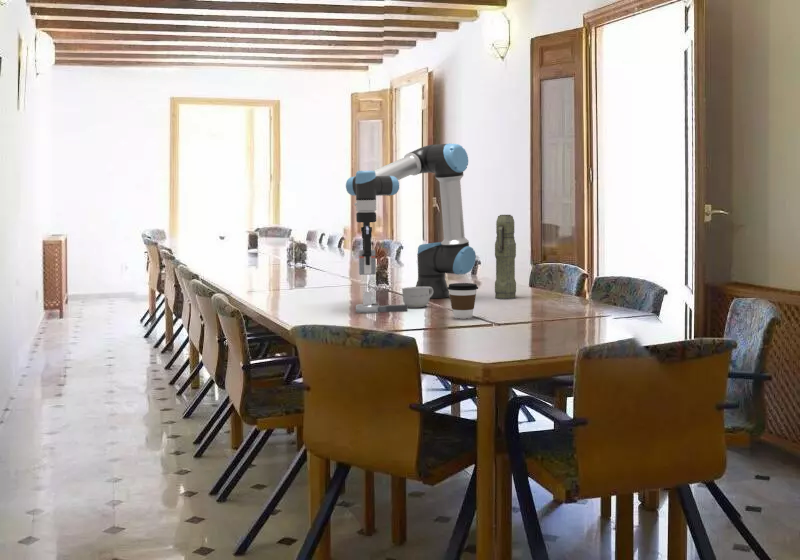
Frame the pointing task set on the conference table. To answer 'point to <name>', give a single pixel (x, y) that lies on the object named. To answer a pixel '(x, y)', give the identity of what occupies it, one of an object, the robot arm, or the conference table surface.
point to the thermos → (505, 258)
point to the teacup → (416, 296)
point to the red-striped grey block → (361, 263)
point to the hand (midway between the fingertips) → (367, 272)
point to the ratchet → (376, 306)
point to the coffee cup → (462, 299)
